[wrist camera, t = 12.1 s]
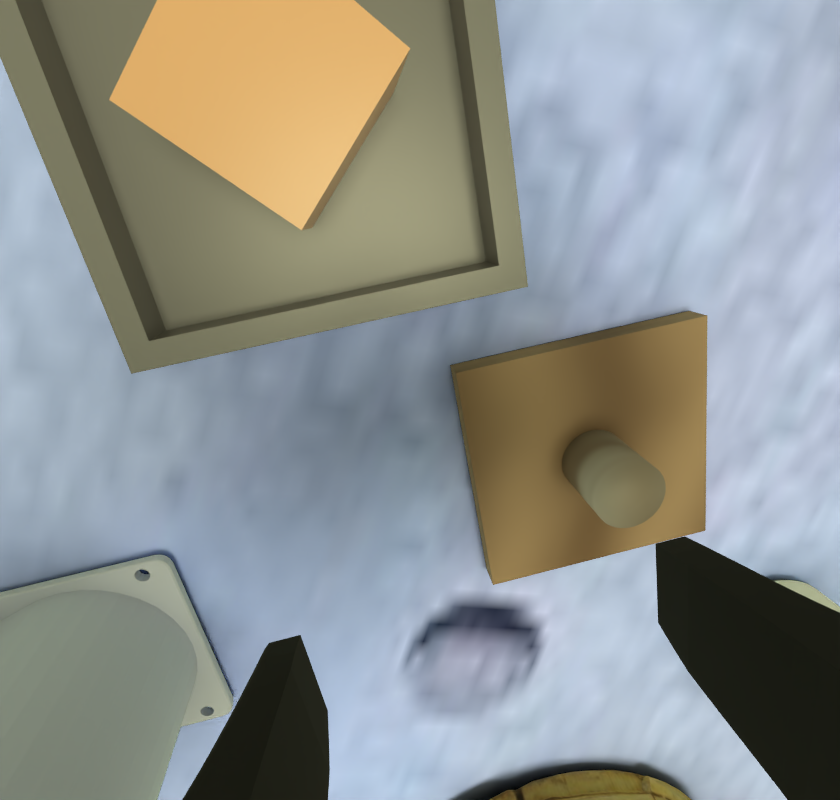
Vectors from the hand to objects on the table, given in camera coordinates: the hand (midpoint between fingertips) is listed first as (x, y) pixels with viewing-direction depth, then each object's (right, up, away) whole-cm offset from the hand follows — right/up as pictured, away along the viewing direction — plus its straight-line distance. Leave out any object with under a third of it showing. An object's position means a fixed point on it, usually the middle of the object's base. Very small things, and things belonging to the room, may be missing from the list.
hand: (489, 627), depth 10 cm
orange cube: (-5, +13, +4) cm, 14 cm away
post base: (+5, +3, +10) cm, 11 cm away
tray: (-5, +13, +5) cm, 15 cm away
